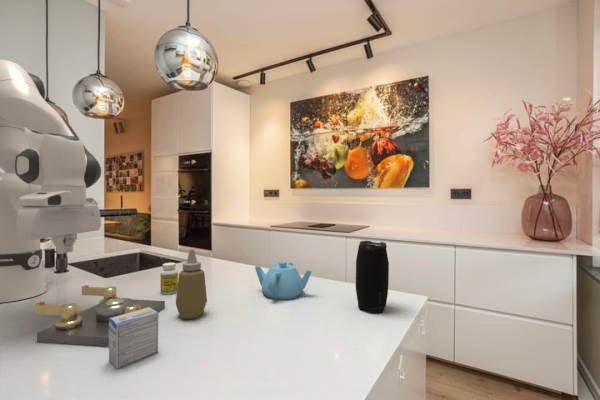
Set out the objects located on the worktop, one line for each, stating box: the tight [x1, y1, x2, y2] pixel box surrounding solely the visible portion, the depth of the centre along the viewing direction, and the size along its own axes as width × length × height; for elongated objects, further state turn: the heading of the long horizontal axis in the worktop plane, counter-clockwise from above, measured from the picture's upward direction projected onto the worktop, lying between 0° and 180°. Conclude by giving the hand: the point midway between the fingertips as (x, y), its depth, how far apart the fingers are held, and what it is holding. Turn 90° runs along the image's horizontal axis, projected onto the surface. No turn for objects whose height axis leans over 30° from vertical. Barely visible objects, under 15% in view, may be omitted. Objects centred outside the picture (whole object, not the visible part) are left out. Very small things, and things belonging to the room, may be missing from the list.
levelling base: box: [36, 297, 166, 348], centre depth 75 cm, size 17×22×6 cm
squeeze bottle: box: [175, 248, 208, 320], centre depth 80 cm, size 8×8×18 cm
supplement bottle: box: [160, 262, 179, 296], centre depth 99 cm, size 5×5×10 cm
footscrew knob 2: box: [81, 284, 120, 304], centre depth 82 cm, size 10×5×5 cm, turn 85°
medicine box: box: [108, 307, 159, 370], centre depth 59 cm, size 8×4×9 cm, turn 141°
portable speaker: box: [355, 240, 390, 315], centre depth 86 cm, size 9×9×20 cm
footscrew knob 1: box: [35, 301, 82, 329], centre depth 69 cm, size 10×5×5 cm, turn 85°
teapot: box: [254, 261, 313, 301], centre depth 99 cm, size 15×15×11 cm
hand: (64, 252), depth 74 cm, fingers closed
